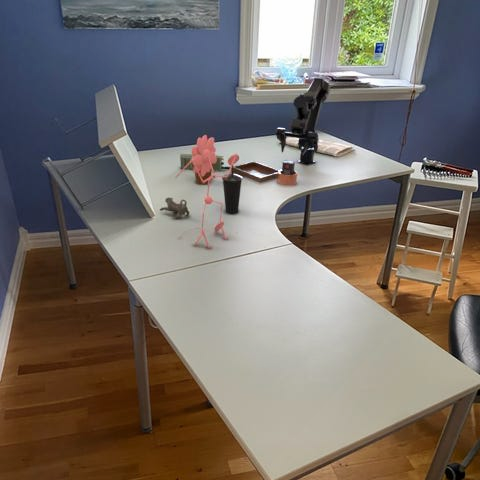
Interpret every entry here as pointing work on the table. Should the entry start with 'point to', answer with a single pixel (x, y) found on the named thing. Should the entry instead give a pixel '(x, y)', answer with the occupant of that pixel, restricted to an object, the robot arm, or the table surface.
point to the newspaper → (324, 146)
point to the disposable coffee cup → (198, 180)
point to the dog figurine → (176, 207)
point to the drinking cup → (232, 192)
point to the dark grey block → (288, 168)
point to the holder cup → (287, 178)
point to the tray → (256, 171)
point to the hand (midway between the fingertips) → (291, 153)
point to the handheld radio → (187, 158)
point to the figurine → (202, 161)
